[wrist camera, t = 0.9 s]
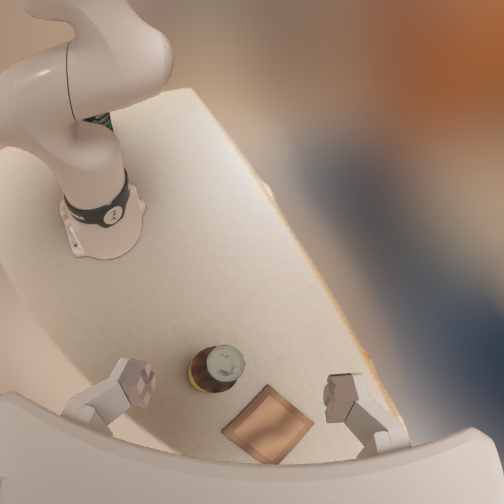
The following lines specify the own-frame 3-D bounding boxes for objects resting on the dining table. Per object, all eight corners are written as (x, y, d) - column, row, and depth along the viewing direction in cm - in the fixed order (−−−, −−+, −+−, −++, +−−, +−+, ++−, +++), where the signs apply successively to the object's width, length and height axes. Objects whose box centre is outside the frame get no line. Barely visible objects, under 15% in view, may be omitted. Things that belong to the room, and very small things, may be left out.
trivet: (221, 431, 38) (221, 432, 37) (267, 384, 44) (268, 384, 43) (270, 469, 36) (272, 470, 35) (312, 422, 42) (314, 423, 41)
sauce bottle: (206, 398, 40) (222, 410, 23) (180, 373, 41) (177, 366, 24) (232, 373, 43) (266, 366, 26) (207, 348, 45) (223, 324, 28)
